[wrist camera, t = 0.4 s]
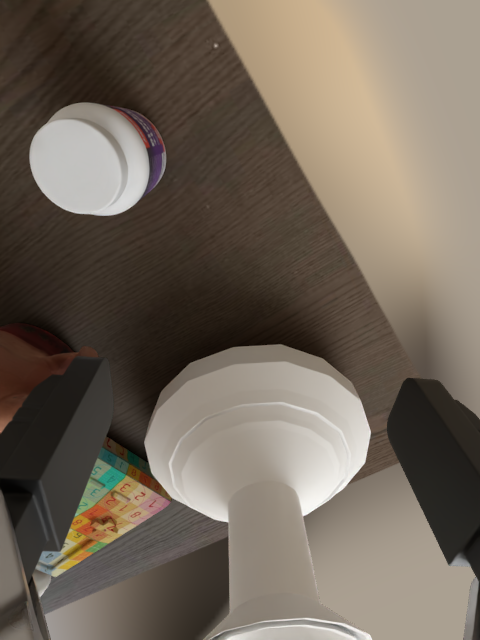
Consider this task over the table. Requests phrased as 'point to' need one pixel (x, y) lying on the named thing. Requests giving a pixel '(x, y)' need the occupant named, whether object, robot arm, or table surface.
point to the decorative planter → (29, 363)
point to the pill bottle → (97, 158)
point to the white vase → (262, 475)
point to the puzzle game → (108, 506)
